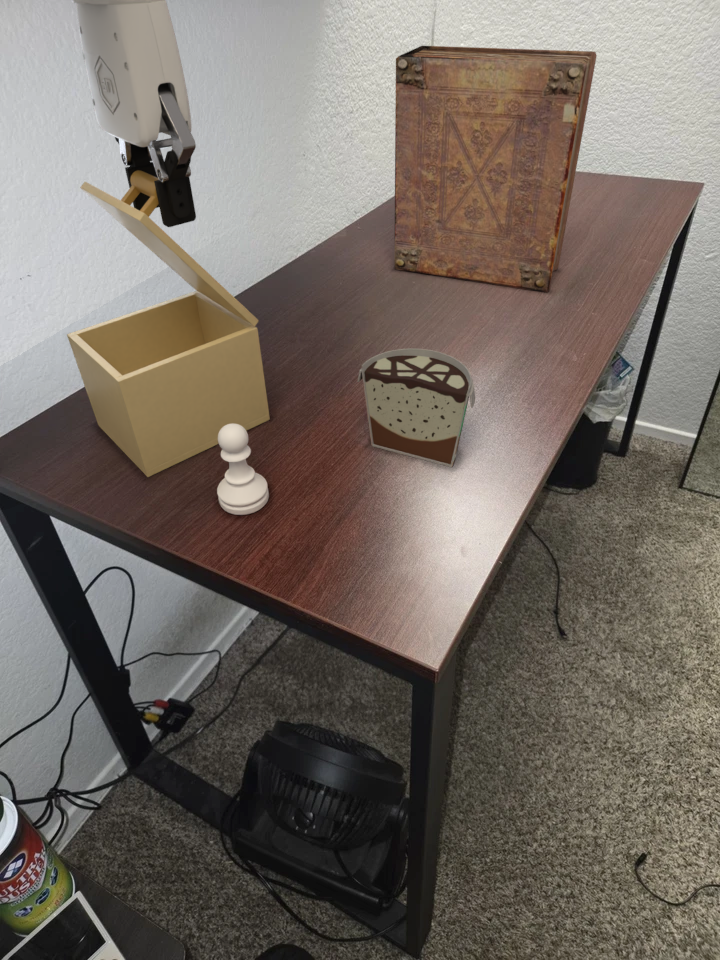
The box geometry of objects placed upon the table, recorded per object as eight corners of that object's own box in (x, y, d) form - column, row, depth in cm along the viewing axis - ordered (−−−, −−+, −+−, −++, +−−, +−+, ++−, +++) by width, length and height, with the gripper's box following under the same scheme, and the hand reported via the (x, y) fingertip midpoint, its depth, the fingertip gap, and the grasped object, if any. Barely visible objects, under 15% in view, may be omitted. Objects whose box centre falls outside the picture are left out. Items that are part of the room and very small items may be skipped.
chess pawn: (277, 504, 66) (267, 431, 60) (230, 522, 64) (215, 449, 58) (257, 476, 69) (245, 405, 63) (212, 493, 67) (195, 421, 61)
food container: (483, 438, 73) (492, 359, 66) (465, 471, 69) (474, 390, 62) (381, 413, 77) (381, 336, 71) (359, 442, 73) (356, 364, 66)
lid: (139, 220, 55) (173, 175, 55) (79, 187, 63) (110, 147, 63) (254, 327, 69) (282, 290, 69) (194, 289, 76) (219, 256, 76)
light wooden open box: (147, 477, 69) (118, 381, 62) (98, 425, 77) (66, 334, 69) (270, 419, 77) (257, 327, 69) (214, 377, 84) (197, 290, 76)
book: (559, 269, 107) (599, 51, 87) (548, 293, 100) (588, 63, 81) (412, 249, 115) (418, 45, 95) (393, 269, 108) (395, 55, 89)
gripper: (30, -23, 55) (91, 203, 66) (119, -15, 45) (173, 250, 56) (115, -28, 58) (159, 187, 70) (215, -21, 48) (246, 229, 60)
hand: (164, 213), depth 63 cm, fingers closed on lid, 5 cm apart
